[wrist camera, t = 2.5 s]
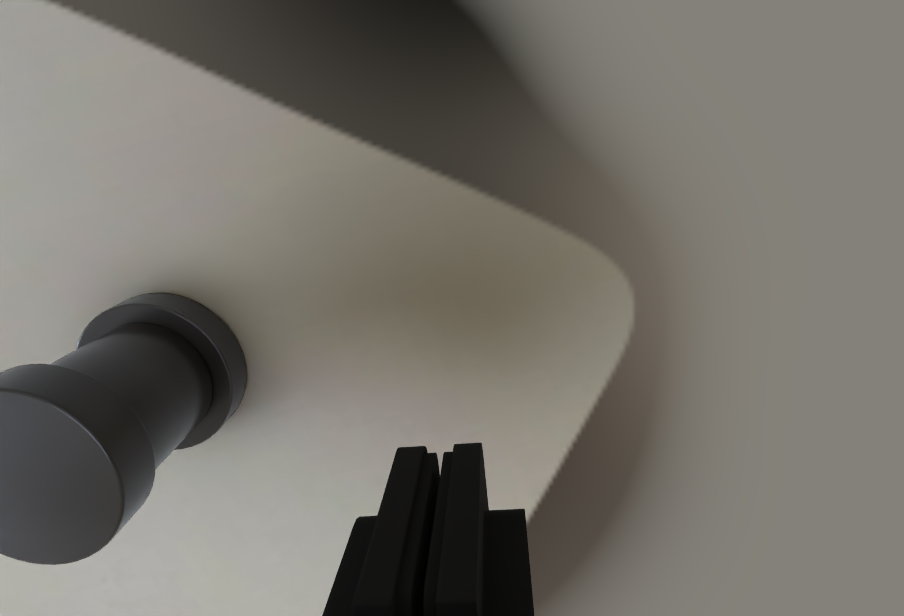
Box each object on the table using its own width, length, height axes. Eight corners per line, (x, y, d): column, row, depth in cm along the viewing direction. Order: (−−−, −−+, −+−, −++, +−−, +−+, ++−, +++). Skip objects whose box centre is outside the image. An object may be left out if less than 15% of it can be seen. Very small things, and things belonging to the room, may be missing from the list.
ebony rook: (77, 299, 19) (-126, 388, 13) (227, 286, 18) (92, 372, 12) (122, 436, 20) (-39, 576, 14) (261, 427, 20) (157, 568, 14)
